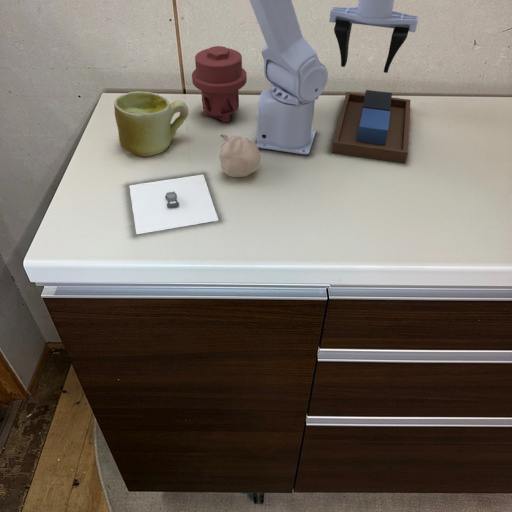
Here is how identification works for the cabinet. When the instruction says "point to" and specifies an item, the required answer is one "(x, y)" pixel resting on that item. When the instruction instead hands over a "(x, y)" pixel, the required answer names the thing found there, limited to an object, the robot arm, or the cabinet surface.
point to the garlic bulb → (239, 156)
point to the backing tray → (390, 151)
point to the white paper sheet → (171, 204)
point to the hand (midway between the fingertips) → (364, 67)
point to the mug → (147, 122)
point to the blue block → (373, 126)
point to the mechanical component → (219, 80)
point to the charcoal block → (377, 100)
